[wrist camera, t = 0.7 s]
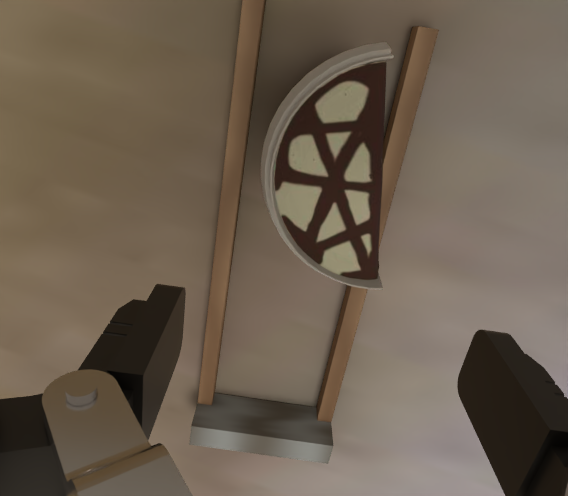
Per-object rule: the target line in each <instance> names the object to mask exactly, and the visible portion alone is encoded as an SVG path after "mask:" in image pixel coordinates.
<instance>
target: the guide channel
mask: <svg viewBox="0 0 568 496" xmlns="http://www.w3.org/2000/svg"><path fill="white" fill-rule="evenodd" d="M265 3H266V0H243V2H242V11H241V20H240V28H239V37H238V46H237V55H236V64H235V73H234V82H233V91H232V100H231V109H230V118H229V127H228V136H227V145H226V154H225V163H224V172H223V181H222V189H221V198H220V207H219V216H218V225H217V234H216V243H215V252H214V261H213V270H212V279H211V288H210V297H209V306H208V315H207V324H206V333H205V342H204V351H203V359H202V368H201V377H200V386H199V395H198V404H197V407H196V411H195V415H194V418H193V422H192V426H191V434H190V443H189V445H197V446H204V447H211V448H218V449H225V450H233V451H240V452H247V453H254V454H261V455H269V456H276V457H283V458H290V459H297V460H305V461H312V462H319V463H326V464H328V463H329V459H330V456H331V452H332V449H333V439H332V428H331V421H332V417H333V413H334V410H335V406H336V402H337V399H338V395H339V391H340V388H341V384H342V381H343V377H344V373H345V370H346V366H347V362H348V359H349V355H350V351H351V348H352V344H353V341H354V337H355V333H356V330H357V326H358V322H359V319H360V315H361V311H362V308H363V304H364V300H365V297H366V293H367V290H368V289H364V288H358V287H353V286H349V285H347V288H346V292H345V296H344V300H343V304H342V308H341V312H340V316H339V320H338V324H337V328H336V332H335V336H334V340H333V344H332V348H331V352H330V356H329V360H328V364H327V368H326V371H325V375H324V379H323V383H322V387H321V391H320V395H319V399H318V403H317V407H309V406H302V405H295V404H288V403H281V402H274V401H268V400H261V399H254V398H247V397H240V396H233V395H226V394H219V393H215V387H216V379H217V371H218V364H219V356H220V348H221V341H222V333H223V325H224V318H225V310H226V302H227V295H228V287H229V279H230V272H231V264H232V256H233V249H234V241H235V233H236V226H237V218H238V210H239V203H240V195H241V187H242V180H243V172H244V164H245V157H246V149H247V141H248V134H249V126H250V118H251V111H252V103H253V95H254V88H255V80H256V72H257V65H258V57H259V49H260V42H261V34H262V26H263V19H264V11H265ZM438 31H439V30H437V29H431V28H426V27H421V26H416V27H412V31H411V35H410V39H409V43H408V47H407V51H406V55H405V59H404V63H403V67H402V71H401V75H400V79H399V83H398V87H397V91H396V95H395V98H394V102H393V106H392V110H391V114H390V118H389V122H388V126H387V130H386V134H385V138H384V142H383V183H382V197H381V212H380V232H379V246H380V242H381V239H382V235H383V231H384V228H385V224H386V220H387V217H388V213H389V210H390V206H391V202H392V199H393V195H394V191H395V188H396V184H397V180H398V177H399V173H400V169H401V166H402V162H403V159H404V155H405V151H406V148H407V144H408V140H409V137H410V133H411V129H412V126H413V122H414V119H415V115H416V111H417V108H418V104H419V100H420V97H421V93H422V89H423V86H424V82H425V79H426V75H427V71H428V68H429V64H430V60H431V57H432V53H433V49H434V46H435V42H436V38H437V35H438Z"/></svg>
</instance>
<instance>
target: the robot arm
mask: <svg viewBox="0 0 568 496" xmlns="http://www.w3.org/2000/svg"><path fill="white" fill-rule="evenodd" d="M184 310H185V288H183V287H176V286H169V285H161V284H157V285H156V286H155V287H154V289H153V291H152V293H151V294H150V296H149V298H148V300H147V301H141V300H134V299H133V300H132V301H130V302H129V303H127V304H125V305H124V306H122V307H121V308H119V309H118V310H117V312H116V313H115V315H114V316H113V318H112V319H111V321H110V324H108V325H107V327H106V328H105V330H104V332H103V334H102V335H101V336H100V338H99V339H98V341H97V342H96V344H95V345H94V347H93V348H92V350H91V351H90V353H89V354H88V356H87V357H86V359H85V360H84V362H83V363H82V365H81V366H80V368H79V369H78V371H73V372H70V373H67V374H65V375H63V376H60V377H59V378H57V379H55V380H54V381H53V382H52V383H50V384H49V386H48V387H47V388H46V389H45V391H44V393H43V394H39V395H34V396H26V397H17V398H8V399H0V496H193V495H192V494H191V492H190V490H189V488H188V486H187V485H186V483H185V481H184V479H183V477H182V476H181V474H180V472H179V470H178V468H177V467H176V465H175V463H174V461H173V459H172V457H171V456H170V454H169V452H168V451H167V449H166V448H165V447H164V446H163V445H162V444H161V443H158V444H156V445H153V446H151V445H150V443H149V442H148V439H149V437H150V434H151V431H152V428H153V426H154V423H155V420H156V418H157V415H158V412H159V409H160V407H161V404H162V401H163V399H164V396H165V393H166V391H167V388H168V385H169V382H170V380H171V377H172V374H173V372H174V369H175V366H176V363H177V361H178V358H179V354H180V350H181V345H182V338H183V324H184ZM458 393H459V397H460V399H461V401H462V404H463V406H464V408H465V410H466V412H467V414H468V416H469V419H470V421H471V423H472V425H473V427H474V429H475V431H476V434H477V436H478V438H479V440H480V442H481V444H482V446H483V449H484V451H485V453H486V455H487V457H488V459H489V461H490V464H491V466H492V468H493V470H494V472H495V474H496V476H497V479H498V481H499V483H500V485H501V487H502V489H503V492H504V494H505V496H568V399H567V397H564V393H563V392H562V391H561V389H560V388H559V387H558V386H557V385H555V382H554V380H553V379H552V378H551V376H550V375H549V374H548V373H547V371H546V370H545V369H544V368H543V367H542V366H541V365H540V364H538V363H537V362H536V361H535V360H533V359H532V358H531V357H530V356H528V355H527V354H524V352H523V351H522V350H521V348H520V347H519V346H518V344H517V343H516V342H515V340H514V339H513V338H512V336H511V335H510V334H508V333H501V332H494V331H487V330H478V331H477V332H476V333H475V335H474V337H473V339H472V342H471V345H470V347H469V350H468V352H467V355H466V358H465V360H464V363H463V365H462V368H461V371H460V373H459V377H458Z"/></svg>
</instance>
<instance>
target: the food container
mask: <svg viewBox="0 0 568 496" xmlns="http://www.w3.org/2000/svg"><path fill="white" fill-rule="evenodd" d="M392 58H394V55H391V48H390V47H389V45H388V44H387V43H386V42H380V43H374V44H367V45H363V46H360V47H357V48H353V49H350V50H347V51H344V52H342V53H340V54H338V55H336V56H334V57H332V58H330V59H328V60H326V61H324V62H323V63H322V64H320V65H319V66H317V67H316V68H315V69H313V70H312V71H310V72H309V73H308V74H306V75H305V76H304V77H303V78H302V79H301V80H300V81H299V82H298V83H297V84H296V85H295V86H294V87H293V88H292V89H291V91H290V92H289V94H288V95H287V96H286V98H285V99H284V100H283V102H282V103H281V104H280V106H279V108H278V110H277V112H276V113H275V115H274V117H273V119H272V121H271V123H270V126H269V129H268V132H267V135H266V138H265V141H264V145H263V151H262V157H261V184H262V190H263V197H264V200H265V203H266V206H267V209H268V212H269V215H270V217H271V219H272V220H273V222H274V224H275V226H276V228H277V230H278V232H279V234H280V236H281V237H282V239H283V240H284V241H285V243H286V244H287V245H288V247H289V248H290V250H291V251H292V252H293V253H294V254H295V255H296V256H298V257H299V258H300V259H301V260H302V261H303V262H304V263H305V264H307V265H308V266H310V267H311V268H312V269H314V270H315V271H317V272H319V273H321V274H322V275H324V276H326V277H328V278H330V279H332V280H334V281H337V282H340V283H343V284H346V285H349V286H353V287H358V288H364V289H376V290H383V287H382V283H381V280H380V276H379V273H378V269H379V261H378V253H379V232H380V212H381V197H382V183H383V140H384V113H385V87H386V61H387V60H389V59H392Z"/></svg>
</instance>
